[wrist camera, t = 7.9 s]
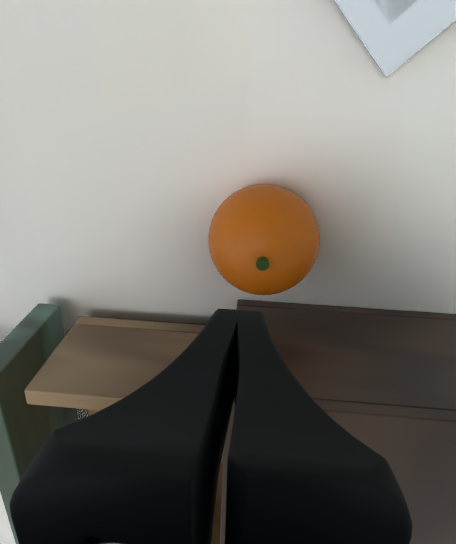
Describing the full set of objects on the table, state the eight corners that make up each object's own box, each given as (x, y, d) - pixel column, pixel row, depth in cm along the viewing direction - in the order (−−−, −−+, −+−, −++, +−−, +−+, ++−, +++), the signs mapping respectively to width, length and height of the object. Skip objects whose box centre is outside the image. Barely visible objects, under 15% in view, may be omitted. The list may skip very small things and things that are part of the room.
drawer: (-7, 442, 28) (-74, 535, 23) (-49, 296, 24) (-147, 368, 18) (270, 468, 27) (271, 572, 22) (286, 320, 22) (291, 405, 17)
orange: (264, 283, 22) (262, 339, 18) (195, 222, 21) (175, 265, 17) (335, 221, 21) (353, 265, 16) (263, 150, 20) (261, 176, 15)
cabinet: (230, 461, 28) (217, 591, 21) (238, 299, 23) (223, 402, 16) (453, 481, 27) (516, 625, 20) (514, 318, 22) (628, 436, 15)
